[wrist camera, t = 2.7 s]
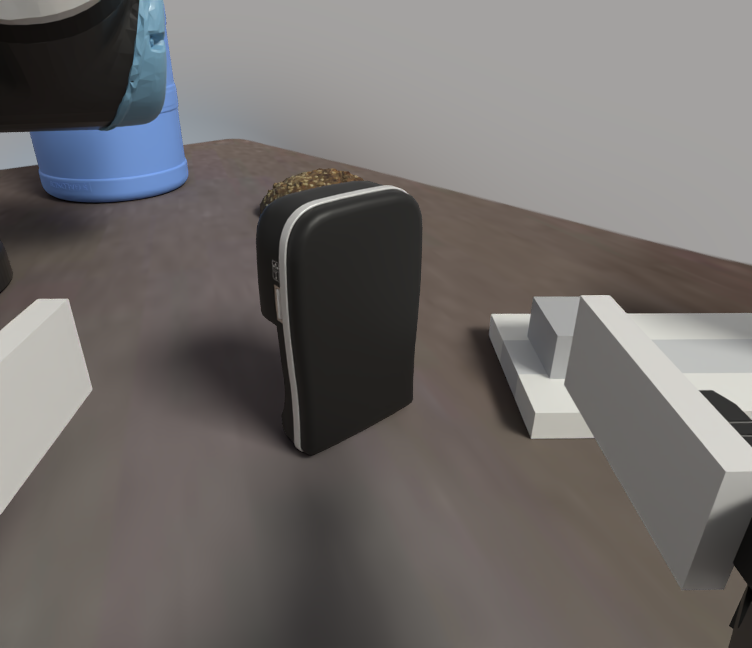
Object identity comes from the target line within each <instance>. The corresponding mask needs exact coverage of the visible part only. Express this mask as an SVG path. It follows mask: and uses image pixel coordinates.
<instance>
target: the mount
mask: <svg viewBox="0 0 752 648" xmlns="http://www.w3.org/2000/svg"><path fill="white" fill-rule="evenodd" d="M579 301H580V297H533V302H532V309H531V314H491V321H490V329H489V337H490V340H491V342H492V344H493V347H494V349H495V352H496V354H497V357H498V359H499V362H500V364H501V366H502V369H503V371H504V374H505V376H506V379H507V381H508V384H509V386H510V388H511V391H512V393H513V396H514V398H515V401H516V403H517V406H518V408H519V410H520V413H521V415H522V418H523V420H524V423H525V425H526V428H527V430H528V432H529V435H530V437H531V439H544V438H594V436H593V434H592V433H591V431H590V429H589V427H588V426H587V424H586V422H585V420H584V419H583V417H582V415H581V413H580V412H579V410H578V408H577V407H576V405H575V403H574V401H573V400H572V398H571V396H570V394H569V393H568V391H567V389H566V387H565V386H564V381H565V376H566V371H567V365H568V360H569V355H570V349H571V344H572V338H573V333H574V328H575V322H576V317H577V312H578V306H579ZM628 315H629V317H630V318H631V319H632V320H633V321H634V322H635V323H636V324H637V325H638V326H639V327H640V328H641V329H642V330H643V331H644V333H645V334H646V335H647V336H648V337H649V338H650V339H651V340H652V341H653V342H654V343H655V344H656V345H657V346H658V348H659V349H660V350H661V351H662V352H663V353H664V354H665V355H666V356H667V357H668V358H669V359H670V360H671V361H672V363H673V364H674V365H675V366H676V367H677V368H678V369H679V370H680V371H681V372H682V373H683V374H684V375H685V376H686V378H687V379H688V380H689V381H690V382H691V383H692V384H693V385H694V386H695V387H696V388H697V389H698V390H713V391H715V392H716V393H718V394H720V395H722V396H723V397H725V398H727V399H728V400H730V401H732V402H733V403H735V404H736V405H737V406H738V407H739V408H740V409H741V410H742V411H743V412H744V413H745V414H746V415H747V416H748V417H749V418H750V419H751V420H752V313H653V314H628Z"/></svg>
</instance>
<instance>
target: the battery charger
mask: <svg viewBox="0 0 752 648" xmlns="http://www.w3.org/2000/svg"><path fill="white" fill-rule="evenodd" d="M256 250H257V270H258V285H259V295H260V305H261V312H262V314H263V316H264V317H265V318H266V319H268V320H269V321H271V322H272V323H273V324H275V325H276V326H277V332H278V340H279V347H280V355H281V362H282V369H283V375H284V383H285V405H284V410H283V413H282V424H283V428H284V431H285V433H286V434H287V436H288V438H289V439H290V440H292V441H293V442H294V444H295V447H296V448H298V449H299V450H300V451H302V452H305V453H307V454H309V455H314V454H316V453H319V452H321V451H323V450H325V449H327V448H329V447H331V446H333V445H336V444H338V443H340V442H341V441H343V440H345V439H347V438H349V437H351V436H353V435H355V434H357V433H359V432H361V431H363V430H365V429H367V428H368V427H370V426H372V425H374V424H376V423H377V422H379V421H381V420H383V419H385V418H386V417H388V416H390V415H392V414H393V413H395V412H397V411H398V410H400V409H402V408H404V407H405V406H407V405H409V404H410V403H411V402H412V400H413V373H414V353H415V341H416V331H417V320H418V308H419V296H420V281H421V260H422V215H421V211H420V208H419V205H418V203H417V202H416V201H415V199H414V198H413V197H412V196H411V195H409V194H408V193H407V192H406V191H404V190H403V189H401V188H397V187H394V186H388V185H385V186H383V185H380V184H377V183H373V182H370V181H350V182H344V183H338V184H332V185H326V186H321V187H317V188H312V189H308V190H304V191H300V192H295V193H291V194H288V195H285V196H282V197H280V198H277V199H276V200H274V201H273V202H272V203H270V204H269V205H268V206H266V208H265V209H264V211H263V212H262V214H261V215H260V218H259V222H258V225H257V234H256Z"/></svg>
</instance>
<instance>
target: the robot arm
mask: <svg viewBox="0 0 752 648" xmlns="http://www.w3.org/2000/svg"><path fill="white" fill-rule="evenodd" d="M164 37H165V16H164V4H163V0H0V132H34V131H69V130H100V131H109V130H112V129H115V128H116V127H124V126H134V125H143V124H147V123H150V122H151V121H153V120H155V119H156V118H157V117H158V115H159V114H160V112H161V110H162V108H163V105H164V101H165V94H166V78H167V59H166V46H165V42H164ZM12 275H13V272H12V268H11V265H10V262H9V259H8V256H7V253H6V250H5V247H4V245H3V243H2V241H1V240H0V292H1V291H2V290H3V289H4V288H5V287H6V286H7V285H8V284H9V282H10V281H11V279H12ZM564 386H565V387H566V389H567V391H568V393H569V394H570V396H571V398H572V400H573V401H574V403H575V405H576V407H577V408H578V410H579V412H580V413H581V415H582V417H583V419H584V420H585V422H586V424H587V426H588V427H589V429H590V431H591V433H592V434H593V436H594V438H595V440H596V441H597V443H598V445H599V447H600V448H601V450H602V452H603V454H604V455H605V457H606V459H607V461H608V462H609V464H610V466H611V468H612V469H613V471H614V473H615V475H616V476H617V478H618V480H619V482H620V483H621V485H622V487H623V489H624V490H625V492H626V494H627V495H628V497H629V499H630V501H631V502H632V504H633V506H634V508H635V509H636V511H637V513H638V515H639V516H640V518H641V520H642V522H643V523H644V525H645V527H646V529H647V530H648V532H649V534H650V536H651V537H652V539H653V541H654V543H655V544H656V546H657V548H658V550H659V551H660V553H661V555H662V557H663V558H664V560H665V562H666V564H667V565H668V567H669V569H670V571H671V572H672V574H673V576H674V577H675V579H676V581H677V583H678V584H679V586H680V588H681V590H716V589H724V588H725V586H726V583H727V581H728V578H729V576H730V574H731V571H732V569H733V567H734V566H735V567H736V568H737V570H738V571H739V573H740V574H741V576H742V577H743V578H744V580H745V581H746V583H747V584H748V585H747V587H746V589H745V592H744V594H743V596H742V598H741V601H740V603H739V605H738V607H737V610H736V612H735V614H734V616H733V618H732V621H731V623H730V625H729V626H730V627H731V628H733V633H732V636H731V640H730V644H729V648H752V420H751V419H750V418H749V417H748V416H747V415H746V414H745V413H744V412H743V411H742V410H741V409H740V408H739V407H738V406H737V405H736V404H735V403H733V402H732V401H730V400H728V399H727V398H725V397H723V396H722V395H720V394H718V393H716V392H715V391H713V390H698V389H697V388H696V387H695V386H694V385H693V384H692V383H691V382H690V381H689V380H688V379H687V378H686V376H685V375H684V374H683V373H682V372H681V371H680V370H679V369H678V368H677V367H676V366H675V365H674V364H673V363H672V361H671V360H670V359H669V358H668V357H667V356H666V355H665V354H664V353H663V352H662V351H661V350H660V349H659V348H658V346H657V345H656V344H655V343H654V342H653V341H652V340H651V339H650V338H649V337H648V336H647V335H646V334H645V333H644V331H643V330H642V329H641V328H640V327H639V326H638V325H637V324H636V323H635V322H634V321H633V320H632V319H631V318H630V317H629V315H628V314H627V313H626V312H625V311H624V310H623V309H622V308H621V307H620V306H619V305H618V304H617V303H616V302H615V300H614V299H613V298H612V297H611V296H610V295H581V296H580V301H579V306H578V312H577V317H576V322H575V328H574V333H573V338H572V344H571V349H570V355H569V360H568V365H567V371H566V376H565V381H564ZM92 390H93V389H92V386H91V382H90V378H89V374H88V371H87V367H86V363H85V359H84V356H83V352H82V348H81V344H80V341H79V337H78V333H77V329H76V326H75V322H74V318H73V314H72V311H71V307H70V303H69V300H68V299H37V300H36V301H35V302H34V303H32V304H31V305H30V306H29V307H28V308H26V309H25V310H24V311H23V312H22V313H21V314H19V315H18V316H17V317H16V318H15V319H13V320H12V321H11V322H10V323H9V324H8V325H6V326H5V327H4V328H3V329H2V330H0V515H1V513H2V512H3V511H4V509H5V508H6V506H7V505H8V504H9V502H10V501H11V500H12V498H13V497H14V496H15V494H16V493H17V492H18V490H19V489H20V487H21V486H22V485H23V483H24V482H25V481H26V479H27V478H28V477H29V475H30V474H31V473H32V471H33V470H34V468H35V467H36V466H37V464H38V463H39V462H40V460H41V459H42V458H43V456H44V455H45V453H46V452H47V451H48V449H49V448H50V447H51V445H52V444H53V443H54V441H55V440H56V439H57V437H58V436H59V434H60V433H61V432H62V430H63V429H64V428H65V426H66V425H67V424H68V422H69V421H70V419H71V418H72V417H73V415H74V414H75V413H76V411H77V410H78V409H79V407H80V406H81V405H82V403H83V402H84V400H85V399H86V398H87V396H88V395H89V394H90V392H91V391H92Z"/></svg>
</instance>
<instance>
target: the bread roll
mask: <svg viewBox="0 0 752 648" xmlns="http://www.w3.org/2000/svg"><path fill="white" fill-rule="evenodd" d="M350 181H364V180H363V179H362V178H360V177H357V176H356V175H352V174H350V173H349V172H344V171H337V170H336V169H320V168H319V169H317V170H313V171H312V172H303V173H301V174H298V175H295V176H292V177H291V178H290V177H289V178H286V179H285V180H284V181H283V182H280V183H275V184H273V189H272V190H268V193H267V195H266V196H265V197H264V198H263V200H262V202H261V204H260V210H261V214H262V212H263V211H264V209H265V208H266V206H268V205H269V204H270V203H272V202H273V201H274V200H276V199H277V198H280V197H282V196H285V195H288V194H291V193H295V192H300V191H304V190H308V189H312V188H317V187H321V186H326V185H332V184H338V183H344V182H350Z"/></svg>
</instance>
